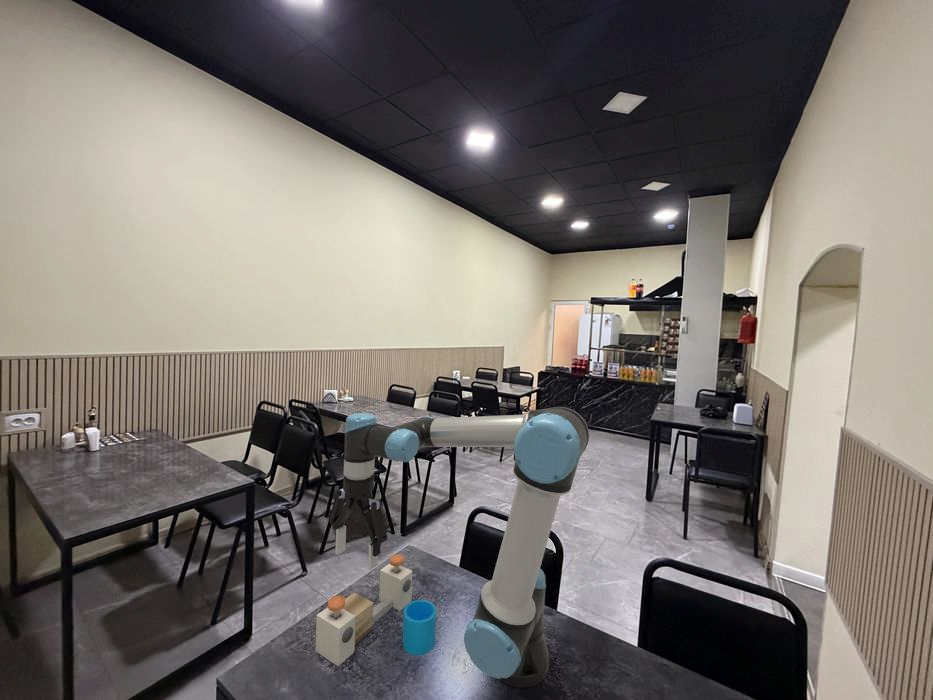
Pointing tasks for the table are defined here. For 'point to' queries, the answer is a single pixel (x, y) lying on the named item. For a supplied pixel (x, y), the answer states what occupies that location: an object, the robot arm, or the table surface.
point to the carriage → (360, 614)
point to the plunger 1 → (336, 605)
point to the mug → (419, 627)
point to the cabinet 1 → (335, 635)
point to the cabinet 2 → (396, 586)
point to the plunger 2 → (396, 562)
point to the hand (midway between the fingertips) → (356, 559)
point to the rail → (382, 609)
